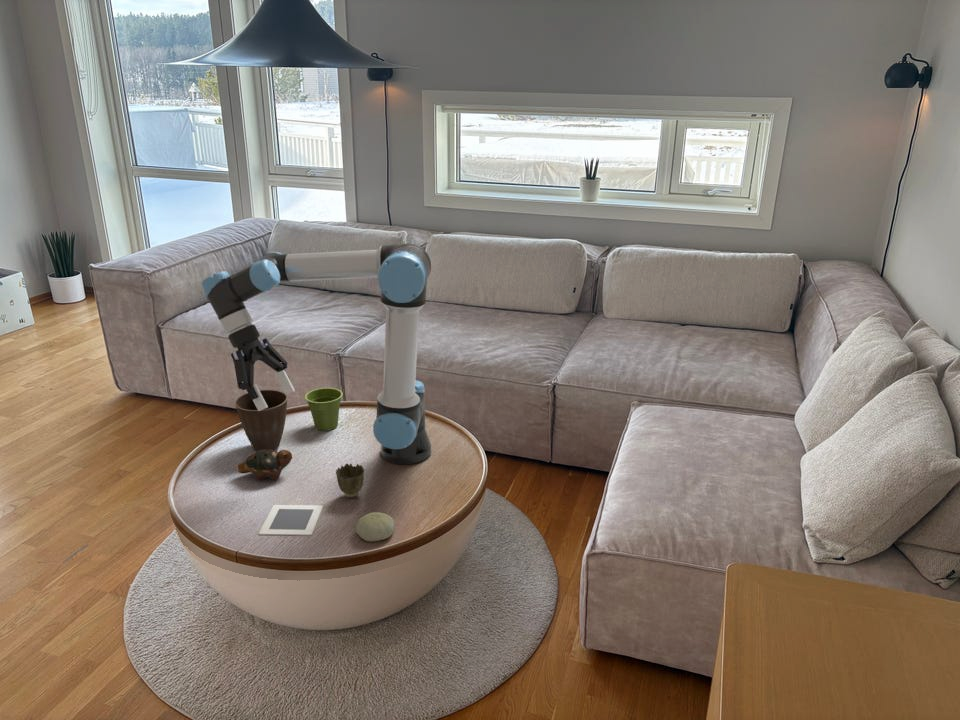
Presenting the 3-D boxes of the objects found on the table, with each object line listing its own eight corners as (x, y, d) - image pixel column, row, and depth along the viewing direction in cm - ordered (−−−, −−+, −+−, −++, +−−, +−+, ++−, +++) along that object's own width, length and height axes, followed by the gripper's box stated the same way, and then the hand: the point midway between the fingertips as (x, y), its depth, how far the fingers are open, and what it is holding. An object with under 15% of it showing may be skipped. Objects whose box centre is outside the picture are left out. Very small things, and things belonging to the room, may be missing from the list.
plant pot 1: (291, 456, 213) (287, 407, 207) (239, 461, 209) (233, 412, 204) (291, 434, 226) (287, 387, 221) (242, 439, 223) (236, 392, 217)
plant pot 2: (308, 420, 236) (305, 388, 232) (344, 417, 238) (342, 386, 234) (306, 436, 225) (303, 403, 221) (344, 433, 227) (342, 401, 223)
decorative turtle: (294, 481, 199) (290, 456, 196) (238, 490, 197) (233, 465, 193) (295, 463, 208) (291, 439, 205) (241, 471, 205) (236, 447, 202)
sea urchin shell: (397, 536, 172) (372, 517, 169) (375, 557, 173) (350, 538, 171) (398, 515, 180) (374, 497, 178) (377, 535, 182) (353, 517, 179)
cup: (369, 490, 195) (368, 464, 192) (359, 504, 188) (357, 478, 185) (344, 487, 196) (342, 461, 194) (333, 501, 190) (331, 474, 187)
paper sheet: (323, 506, 187) (323, 505, 187) (311, 535, 175) (311, 534, 175) (273, 505, 187) (273, 504, 187) (258, 534, 175) (258, 533, 175)
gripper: (256, 323, 201) (290, 390, 204) (200, 346, 178) (239, 421, 181) (276, 313, 198) (311, 381, 201) (222, 335, 175) (262, 411, 178)
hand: (277, 400), depth 191 cm, fingers open, 13 cm apart
